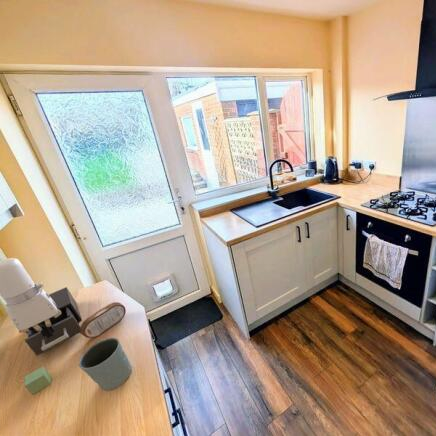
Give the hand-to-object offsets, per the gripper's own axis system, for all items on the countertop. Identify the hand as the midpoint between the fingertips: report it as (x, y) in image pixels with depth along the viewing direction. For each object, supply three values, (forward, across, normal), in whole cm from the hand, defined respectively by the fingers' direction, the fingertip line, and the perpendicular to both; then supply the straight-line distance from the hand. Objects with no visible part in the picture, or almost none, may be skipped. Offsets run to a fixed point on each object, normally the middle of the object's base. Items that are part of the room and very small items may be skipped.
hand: (50, 334), depth 86 cm
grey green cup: (+8, -11, +29) cm, 32 cm away
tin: (+8, -15, +2) cm, 17 cm away
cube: (+8, +6, +12) cm, 15 cm away
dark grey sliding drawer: (+7, 0, -7) cm, 10 cm away
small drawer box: (+8, 0, -20) cm, 21 cm away
